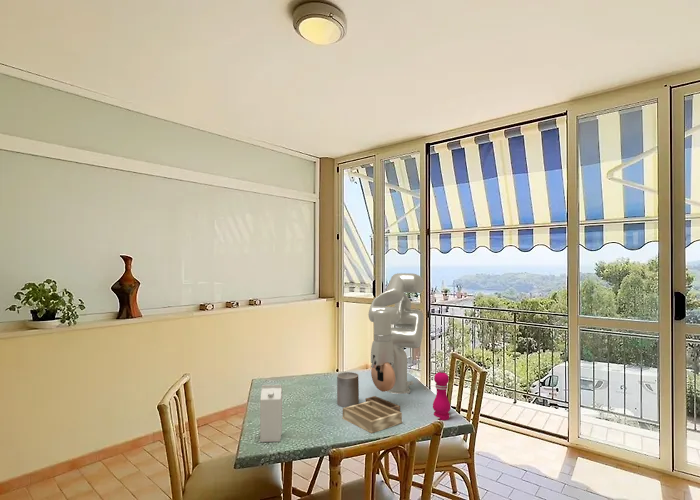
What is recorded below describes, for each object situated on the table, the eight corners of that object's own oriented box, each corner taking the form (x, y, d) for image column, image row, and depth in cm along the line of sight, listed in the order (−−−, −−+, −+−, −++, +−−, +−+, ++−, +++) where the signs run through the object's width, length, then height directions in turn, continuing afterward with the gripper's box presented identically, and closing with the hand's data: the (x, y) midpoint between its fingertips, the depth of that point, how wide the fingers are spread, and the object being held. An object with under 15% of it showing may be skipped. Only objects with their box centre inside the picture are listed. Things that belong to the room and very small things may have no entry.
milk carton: (262, 433, 148) (263, 382, 149) (281, 433, 149) (282, 381, 150) (259, 442, 141) (260, 388, 142) (280, 441, 142) (280, 387, 143)
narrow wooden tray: (375, 403, 181) (375, 395, 182) (400, 414, 169) (400, 405, 169) (365, 406, 178) (365, 398, 178) (390, 417, 165) (390, 408, 165)
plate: (375, 385, 181) (375, 357, 180) (395, 394, 170) (395, 363, 170) (371, 386, 179) (371, 358, 179) (391, 395, 169) (391, 364, 169)
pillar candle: (354, 401, 184) (354, 368, 185) (361, 408, 175) (361, 373, 175) (334, 403, 181) (334, 370, 182) (340, 411, 172) (340, 376, 172)
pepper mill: (451, 415, 168) (451, 367, 168) (449, 421, 161) (449, 371, 161) (433, 413, 170) (433, 365, 171) (431, 419, 163) (431, 370, 164)
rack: (372, 411, 171) (372, 400, 171) (402, 425, 157) (402, 412, 157) (342, 420, 161) (342, 408, 161) (371, 436, 147) (371, 422, 147)
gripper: (390, 333, 182) (390, 374, 183) (363, 339, 173) (363, 381, 173) (401, 336, 177) (402, 378, 177) (374, 342, 167) (374, 386, 167)
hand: (383, 379), depth 175 cm, fingers closed on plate, 2 cm apart
